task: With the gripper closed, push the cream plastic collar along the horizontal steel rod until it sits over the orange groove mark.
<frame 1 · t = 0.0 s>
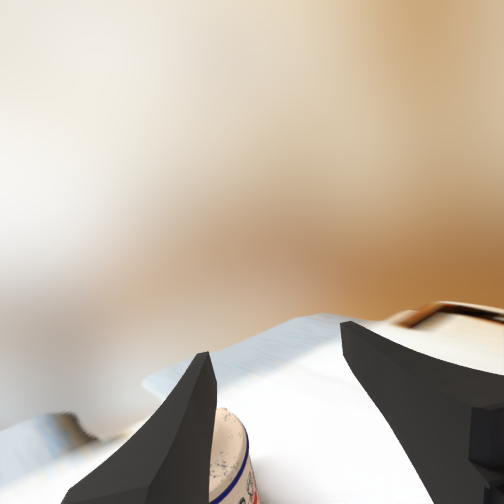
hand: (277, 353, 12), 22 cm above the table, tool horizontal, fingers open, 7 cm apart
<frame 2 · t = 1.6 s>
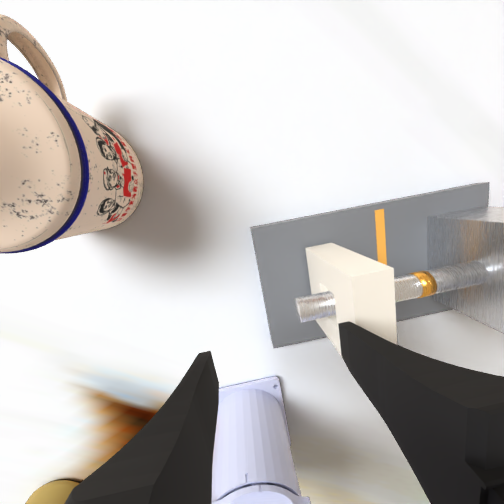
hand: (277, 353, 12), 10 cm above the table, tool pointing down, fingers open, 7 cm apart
collar: (343, 300, 17), point 6 cm above the table, slide at 0.0 cm
paper tube: (66, 497, 26), on the table
teacup with lid: (89, 159, 19), on the table
pipe stand: (425, 286, 17), on the base plate, point 6 cm above the table
base plate: (369, 265, 23), on the table
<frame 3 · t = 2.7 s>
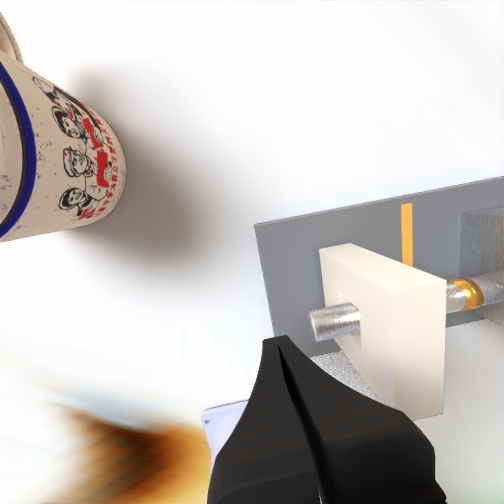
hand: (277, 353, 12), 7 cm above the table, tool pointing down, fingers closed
collar: (367, 314, 14), point 6 cm above the table, slide at 0.0 cm
teacup with lid: (61, 142, 16), on the table
pipe stand: (468, 297, 14), on the base plate, point 6 cm above the table
base plate: (391, 268, 20), on the table
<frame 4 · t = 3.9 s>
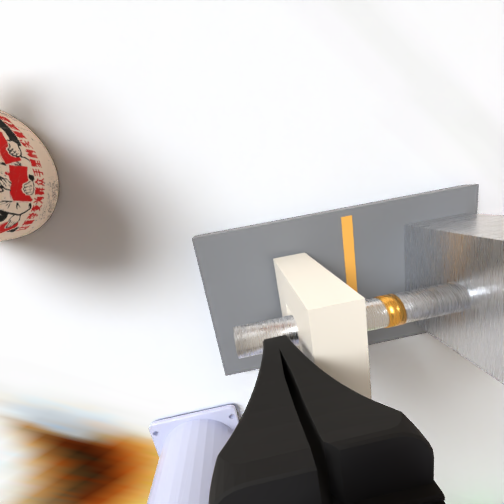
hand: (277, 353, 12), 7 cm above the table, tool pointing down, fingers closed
collar: (312, 326, 14), point 6 cm above the table, slide at 1.2 cm, touching gripper
pipe stand: (393, 314, 14), on the base plate, point 6 cm above the table
base plate: (338, 280, 20), on the table
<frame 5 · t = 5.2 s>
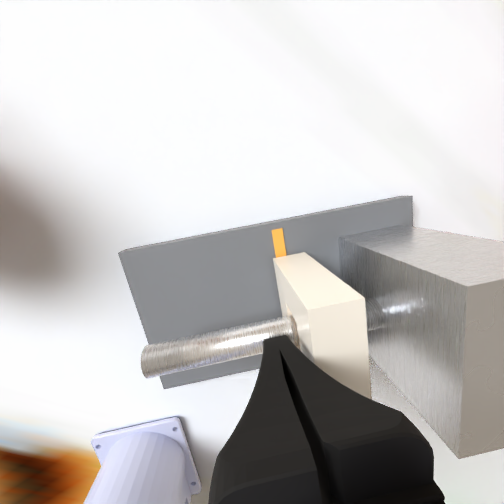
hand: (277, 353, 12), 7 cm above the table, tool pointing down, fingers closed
collar: (312, 326, 14), point 6 cm above the table, slide at 6.5 cm, touching gripper
pipe stand: (307, 332, 14), on the base plate, point 6 cm above the table
base plate: (278, 291, 20), on the table
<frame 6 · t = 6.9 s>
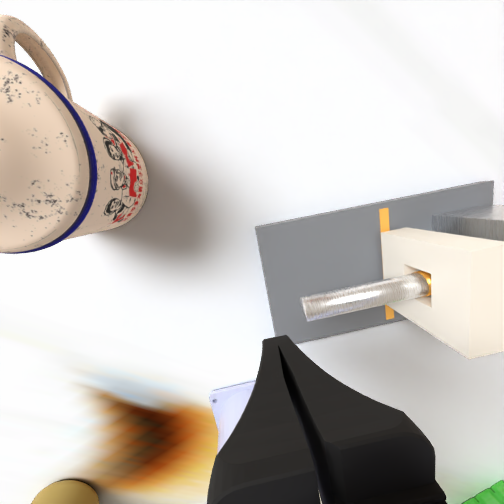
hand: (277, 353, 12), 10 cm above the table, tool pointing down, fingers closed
collar: (431, 281, 17), point 6 cm above the table, slide at 6.5 cm
paper tube: (71, 497, 26), on the table
teacup with lid: (94, 159, 19), on the table
pipe stand: (431, 285, 17), on the base plate, point 6 cm above the table
base plate: (374, 264, 23), on the table
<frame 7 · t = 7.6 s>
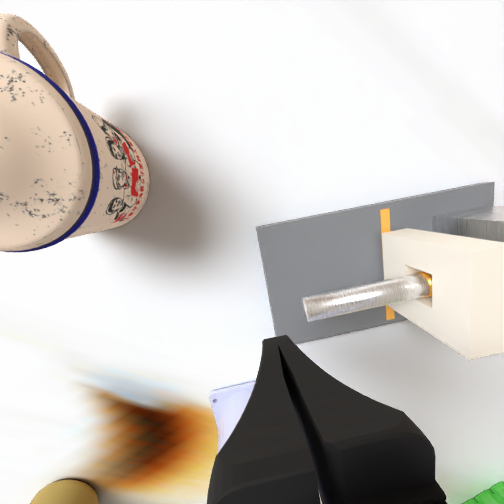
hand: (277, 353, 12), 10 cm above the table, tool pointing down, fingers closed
collar: (432, 282, 18), point 6 cm above the table, slide at 6.5 cm
paper tube: (71, 496, 26), on the table
teacup with lid: (96, 159, 19), on the table
pipe stand: (432, 285, 17), on the base plate, point 6 cm above the table
base plate: (374, 264, 23), on the table
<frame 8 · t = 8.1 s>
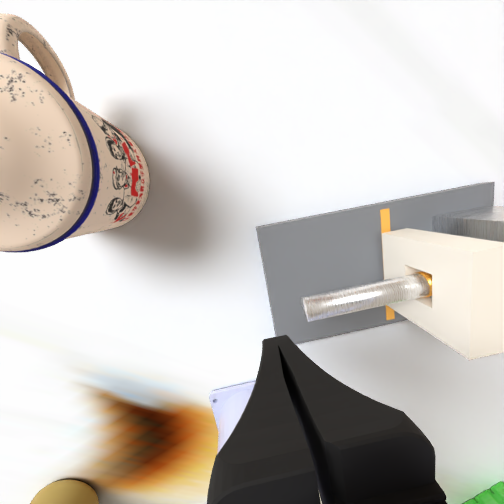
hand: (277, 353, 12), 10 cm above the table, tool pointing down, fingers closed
collar: (432, 282, 18), point 6 cm above the table, slide at 6.5 cm
paper tube: (71, 496, 26), on the table
teacup with lid: (96, 159, 19), on the table
pipe stand: (432, 285, 17), on the base plate, point 6 cm above the table
base plate: (374, 264, 23), on the table
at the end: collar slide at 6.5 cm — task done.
